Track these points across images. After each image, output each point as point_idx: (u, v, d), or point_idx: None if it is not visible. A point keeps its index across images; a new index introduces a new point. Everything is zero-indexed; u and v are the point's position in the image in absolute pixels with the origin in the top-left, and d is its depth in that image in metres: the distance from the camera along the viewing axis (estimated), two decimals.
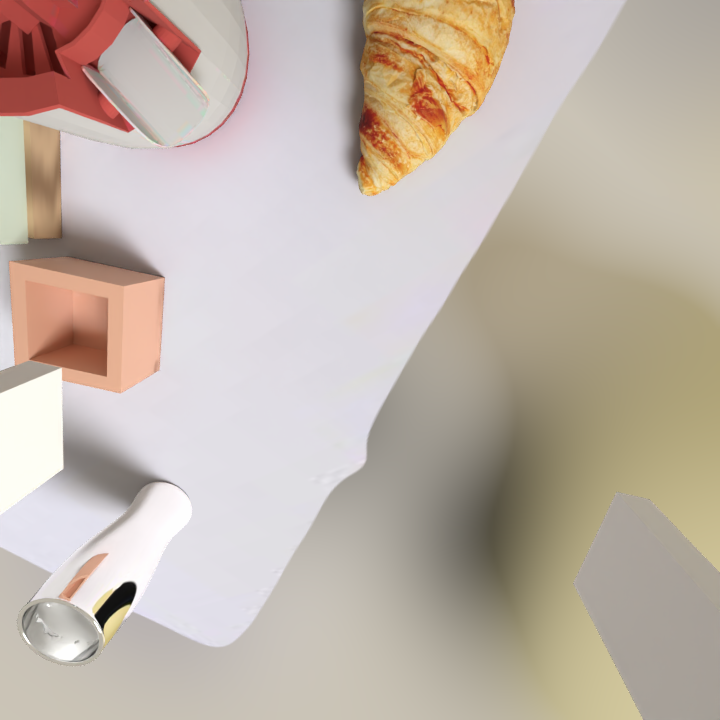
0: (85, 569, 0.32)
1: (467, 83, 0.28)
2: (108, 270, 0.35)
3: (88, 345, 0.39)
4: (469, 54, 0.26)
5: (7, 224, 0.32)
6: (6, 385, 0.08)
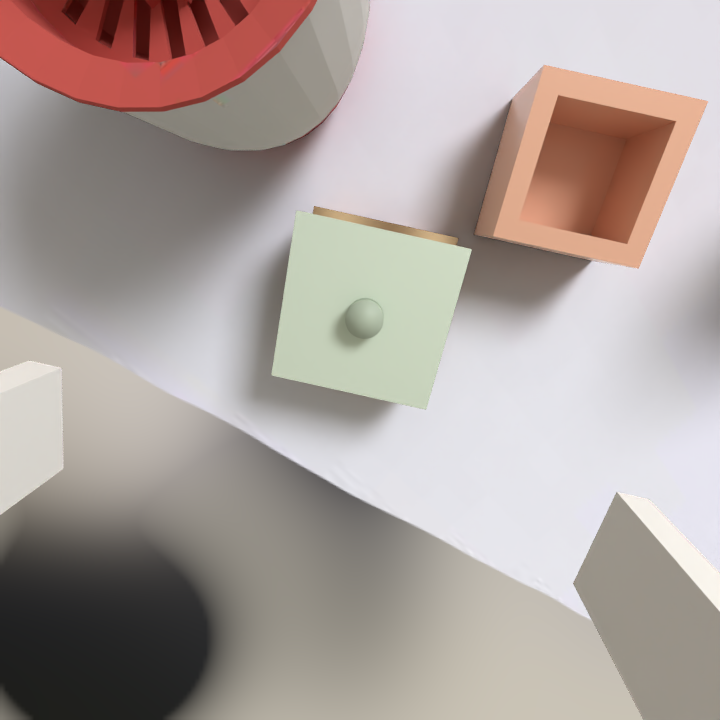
0: None
1: None
2: (502, 155, 0.27)
3: (594, 219, 0.29)
4: None
5: None
6: (5, 385, 0.08)
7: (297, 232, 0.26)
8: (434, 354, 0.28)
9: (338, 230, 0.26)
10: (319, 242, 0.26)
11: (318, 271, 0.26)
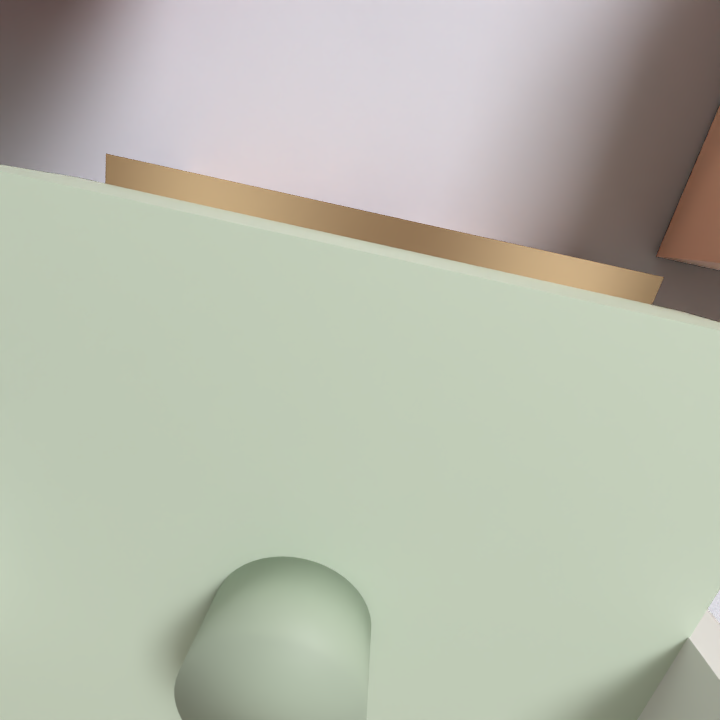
0: None
1: None
2: None
3: None
4: None
5: (659, 311, 0.06)
6: None
7: None
8: None
9: (122, 254, 0.05)
10: (38, 312, 0.05)
11: (62, 443, 0.06)
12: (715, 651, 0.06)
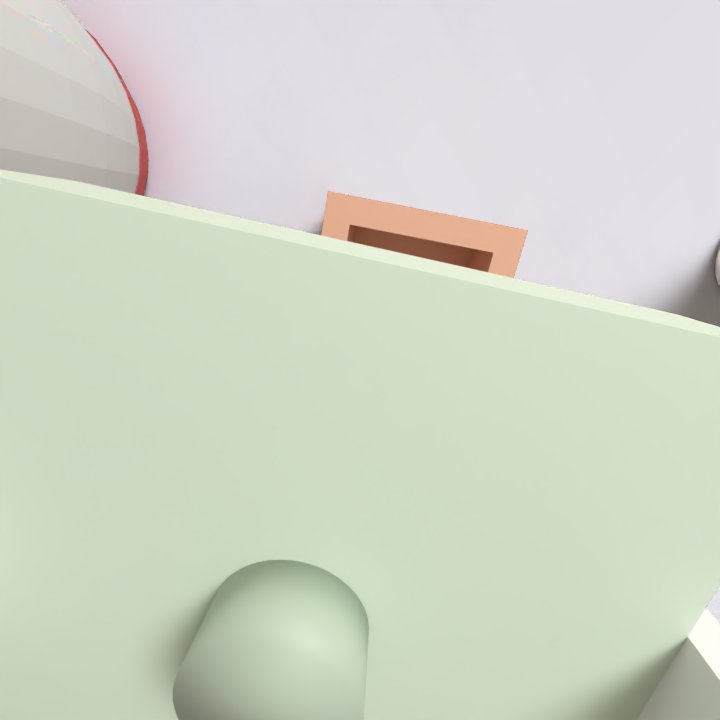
0: None
1: None
2: None
3: None
4: None
5: (655, 316, 0.06)
6: None
7: None
8: None
9: (120, 259, 0.05)
10: (37, 317, 0.05)
11: (61, 447, 0.06)
12: (714, 651, 0.06)
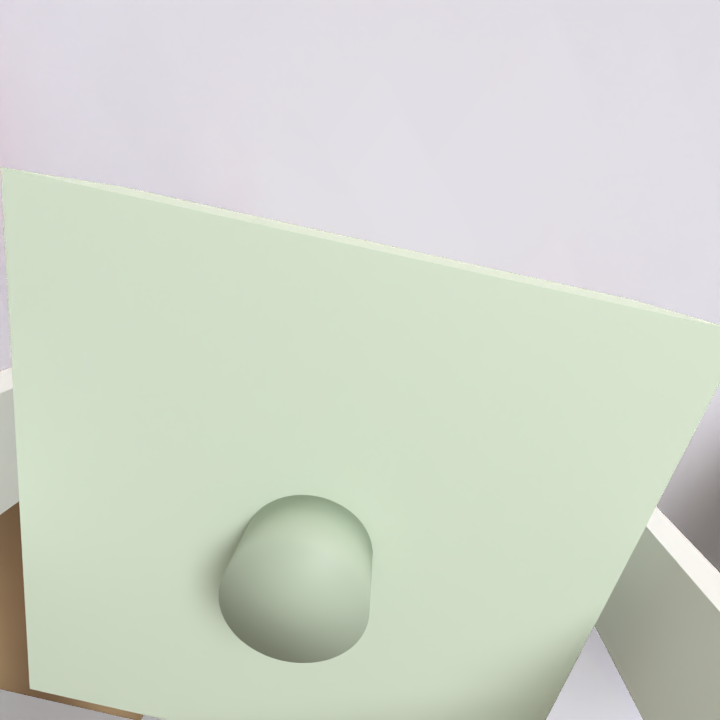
0: None
1: None
2: None
3: None
4: None
5: (603, 297, 0.07)
6: (6, 385, 0.08)
7: (23, 258, 0.06)
8: (547, 667, 0.08)
9: (181, 250, 0.06)
10: (113, 296, 0.06)
11: (126, 402, 0.07)
12: None
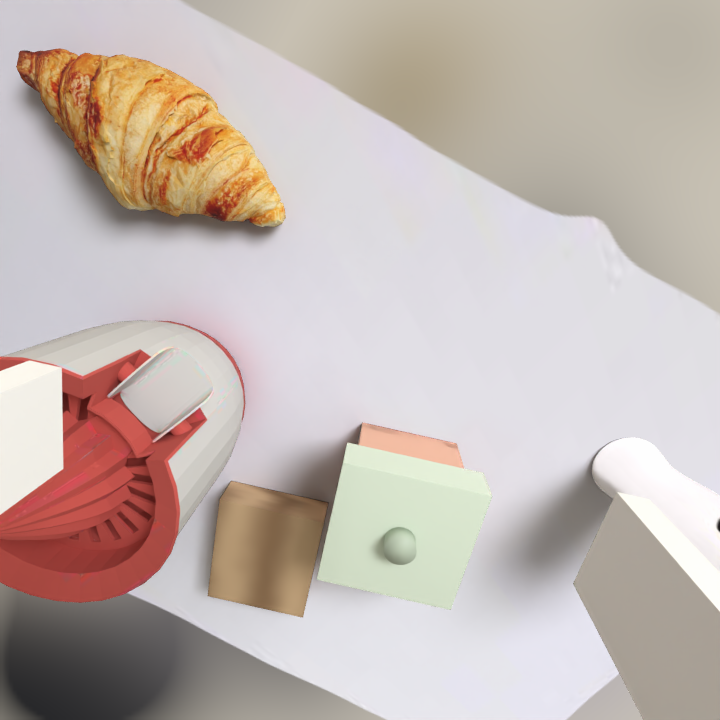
0: None
1: (179, 103, 0.28)
2: None
3: None
4: (152, 99, 0.27)
5: (468, 482, 0.31)
6: (6, 385, 0.08)
7: (343, 478, 0.30)
8: (459, 569, 0.32)
9: (378, 478, 0.30)
10: (362, 485, 0.30)
11: (360, 506, 0.31)
12: None
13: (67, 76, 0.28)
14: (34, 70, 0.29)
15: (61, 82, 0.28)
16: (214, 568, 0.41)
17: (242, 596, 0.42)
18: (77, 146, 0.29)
